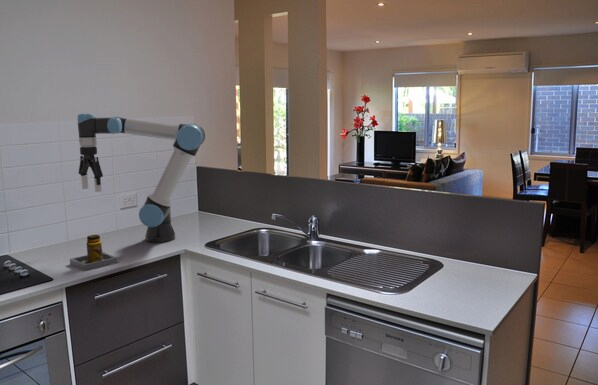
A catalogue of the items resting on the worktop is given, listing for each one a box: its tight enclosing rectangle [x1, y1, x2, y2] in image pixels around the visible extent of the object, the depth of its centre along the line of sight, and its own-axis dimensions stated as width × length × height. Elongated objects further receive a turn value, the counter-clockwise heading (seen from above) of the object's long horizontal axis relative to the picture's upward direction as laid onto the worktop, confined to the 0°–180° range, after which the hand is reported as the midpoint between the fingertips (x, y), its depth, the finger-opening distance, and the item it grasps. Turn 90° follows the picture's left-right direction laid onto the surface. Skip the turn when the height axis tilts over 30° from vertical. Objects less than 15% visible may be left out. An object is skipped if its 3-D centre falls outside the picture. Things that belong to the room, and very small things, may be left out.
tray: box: [69, 251, 118, 272], centre depth 225 cm, size 15×14×2 cm
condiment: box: [82, 234, 103, 264], centre depth 224 cm, size 7×8×12 cm
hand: (91, 190), depth 246 cm, fingers open, 13 cm apart
